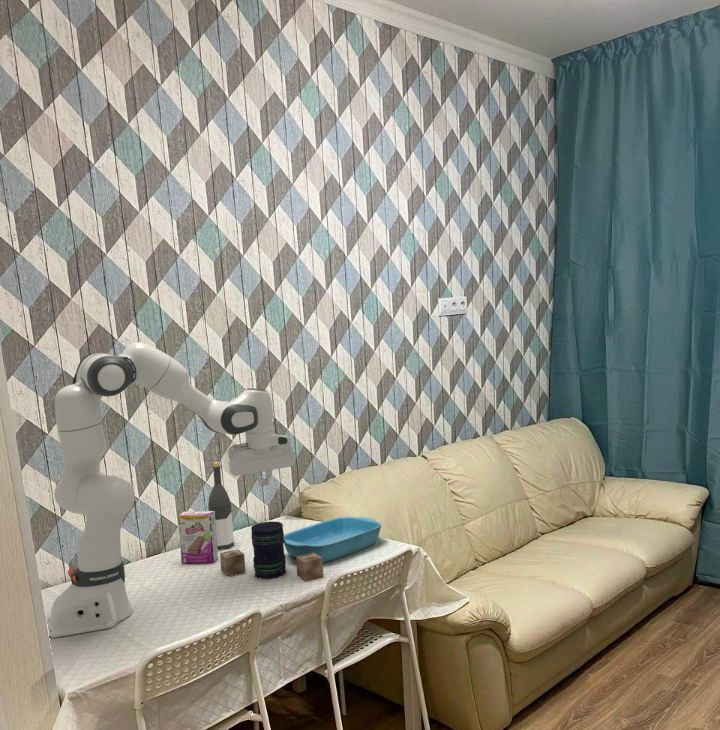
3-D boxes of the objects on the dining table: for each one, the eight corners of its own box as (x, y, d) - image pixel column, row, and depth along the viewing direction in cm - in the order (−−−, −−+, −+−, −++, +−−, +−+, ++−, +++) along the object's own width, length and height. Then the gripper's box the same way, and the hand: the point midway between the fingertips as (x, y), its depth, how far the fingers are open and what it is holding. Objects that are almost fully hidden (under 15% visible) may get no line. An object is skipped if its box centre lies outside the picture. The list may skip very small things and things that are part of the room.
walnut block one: (305, 581, 207) (303, 561, 207) (297, 576, 213) (295, 556, 212) (323, 577, 210) (322, 557, 210) (315, 571, 215) (313, 551, 215)
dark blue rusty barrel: (251, 580, 211) (247, 531, 211) (257, 569, 221) (253, 522, 220) (284, 578, 211) (280, 529, 210) (288, 567, 221) (285, 520, 220)
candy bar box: (181, 564, 230) (177, 515, 229) (186, 559, 235) (182, 511, 234) (214, 563, 229) (210, 514, 228) (218, 558, 234) (215, 510, 233)
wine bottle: (214, 543, 251) (207, 460, 250) (236, 542, 251) (230, 459, 249) (208, 550, 243) (201, 465, 241) (231, 549, 243) (225, 464, 241)
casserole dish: (348, 530, 257) (347, 511, 257) (394, 541, 241) (393, 520, 241) (270, 559, 231) (268, 538, 230) (315, 572, 215) (314, 549, 215)
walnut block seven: (226, 577, 216) (225, 557, 215) (221, 571, 221) (219, 552, 221) (245, 572, 219) (244, 553, 218) (239, 567, 224) (238, 548, 224)
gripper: (230, 446, 206) (234, 493, 207) (295, 437, 216) (298, 481, 216) (224, 444, 212) (228, 489, 213) (287, 435, 221) (290, 478, 222)
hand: (264, 485), depth 215 cm, fingers closed
